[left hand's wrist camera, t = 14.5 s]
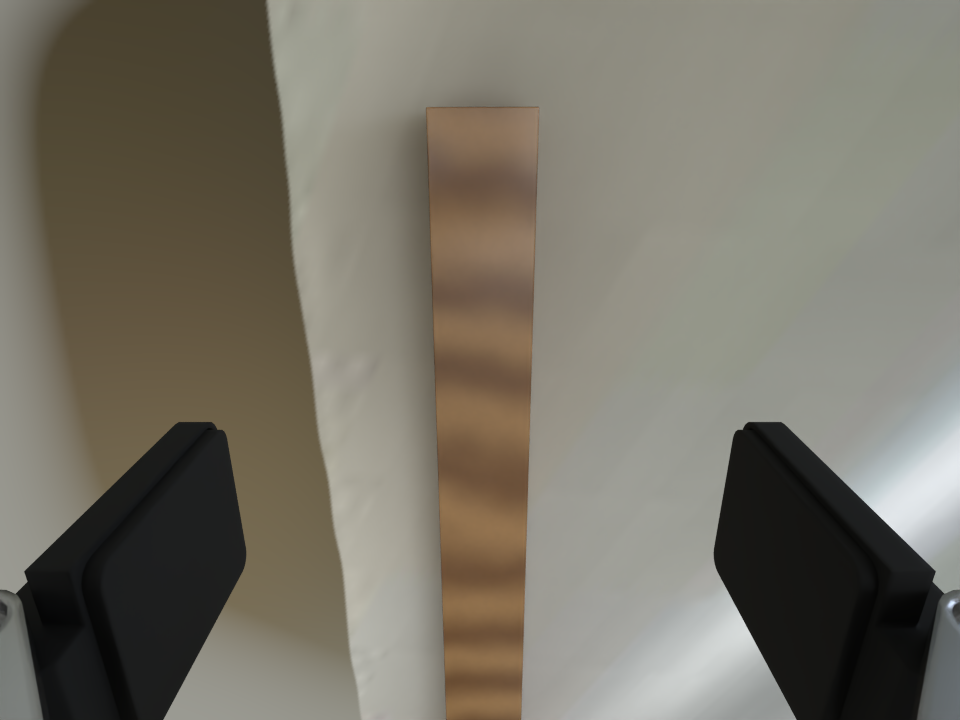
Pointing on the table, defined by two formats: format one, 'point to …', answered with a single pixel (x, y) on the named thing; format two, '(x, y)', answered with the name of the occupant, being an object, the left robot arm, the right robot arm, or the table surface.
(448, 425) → the bar
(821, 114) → the table surface
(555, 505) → the table surface
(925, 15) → the table surface
